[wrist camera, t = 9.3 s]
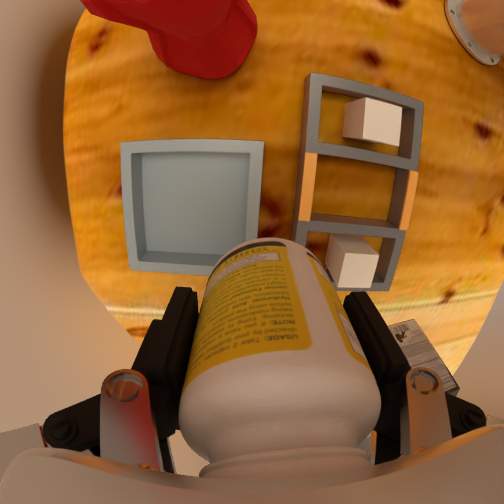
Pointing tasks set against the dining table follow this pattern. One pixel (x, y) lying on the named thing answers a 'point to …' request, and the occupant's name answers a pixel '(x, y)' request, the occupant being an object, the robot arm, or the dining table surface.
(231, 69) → the water bottle
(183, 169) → the tray
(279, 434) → the supplement bottle
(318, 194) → the dining table surface
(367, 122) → the block
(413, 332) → the coffee box
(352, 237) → the block
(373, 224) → the holder block
